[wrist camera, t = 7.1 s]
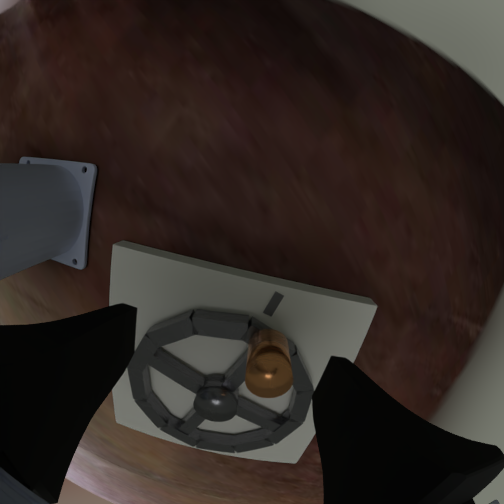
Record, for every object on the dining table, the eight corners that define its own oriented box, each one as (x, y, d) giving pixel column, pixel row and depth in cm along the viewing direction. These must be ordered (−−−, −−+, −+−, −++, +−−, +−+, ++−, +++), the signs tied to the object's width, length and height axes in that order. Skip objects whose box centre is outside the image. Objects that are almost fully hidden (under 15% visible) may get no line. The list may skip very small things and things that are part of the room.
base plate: (121, 412, 22) (115, 422, 21) (123, 240, 18) (112, 244, 17) (294, 452, 22) (296, 464, 21) (370, 297, 18) (377, 306, 17)
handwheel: (242, 457, 20) (239, 496, 16) (114, 389, 19) (90, 424, 15) (351, 367, 18) (370, 410, 13) (190, 263, 16) (165, 290, 12)
